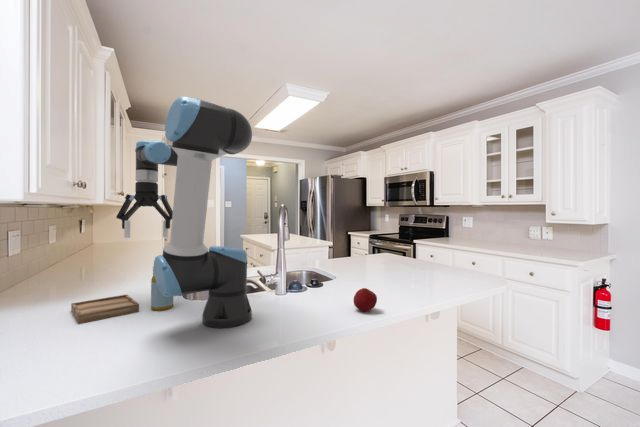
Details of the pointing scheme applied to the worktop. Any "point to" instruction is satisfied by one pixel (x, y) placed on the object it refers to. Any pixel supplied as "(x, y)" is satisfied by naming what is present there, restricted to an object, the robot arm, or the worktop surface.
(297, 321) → the worktop surface
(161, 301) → the bottle
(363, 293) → the apple
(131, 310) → the tray
